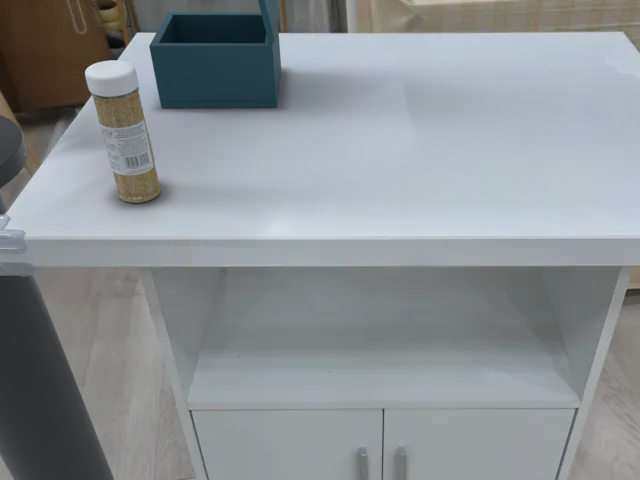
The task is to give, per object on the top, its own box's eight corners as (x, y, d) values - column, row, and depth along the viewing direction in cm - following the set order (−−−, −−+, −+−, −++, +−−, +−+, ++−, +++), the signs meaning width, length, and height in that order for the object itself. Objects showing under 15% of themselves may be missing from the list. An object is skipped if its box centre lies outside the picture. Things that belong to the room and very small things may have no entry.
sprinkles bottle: (160, 180, 74) (133, 56, 65) (163, 201, 71) (136, 73, 62) (116, 186, 73) (83, 60, 64) (117, 207, 70) (83, 78, 61)
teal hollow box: (161, 108, 88) (148, 45, 82) (177, 70, 97) (167, 12, 92) (276, 108, 89) (272, 45, 83) (281, 70, 98) (277, 12, 93)
